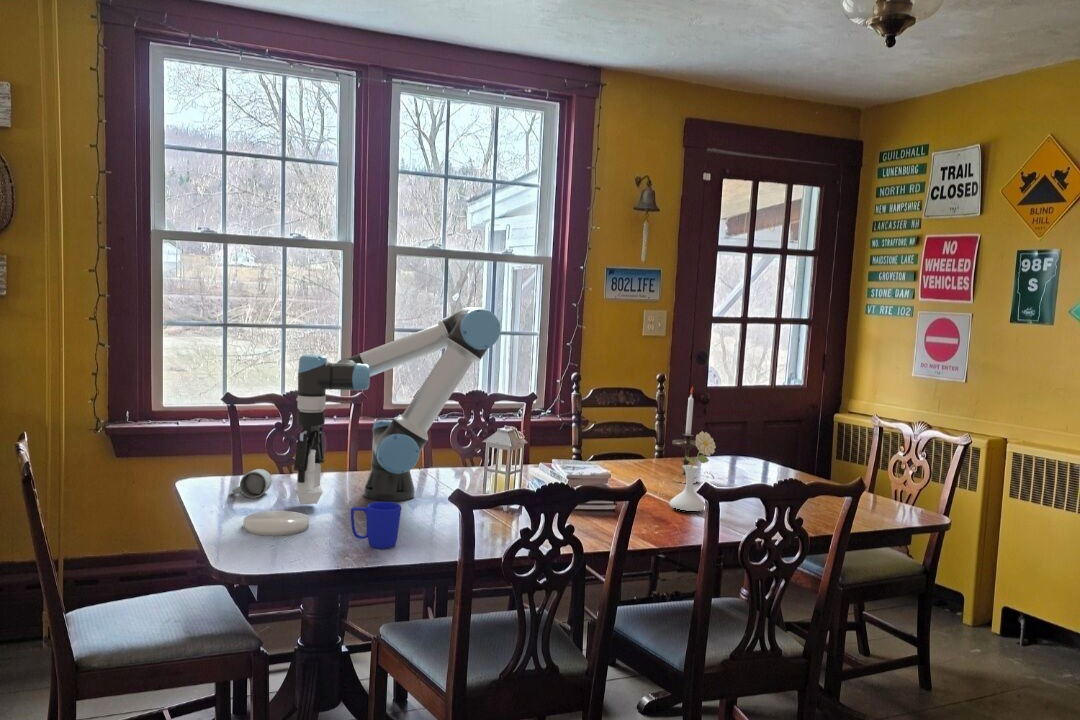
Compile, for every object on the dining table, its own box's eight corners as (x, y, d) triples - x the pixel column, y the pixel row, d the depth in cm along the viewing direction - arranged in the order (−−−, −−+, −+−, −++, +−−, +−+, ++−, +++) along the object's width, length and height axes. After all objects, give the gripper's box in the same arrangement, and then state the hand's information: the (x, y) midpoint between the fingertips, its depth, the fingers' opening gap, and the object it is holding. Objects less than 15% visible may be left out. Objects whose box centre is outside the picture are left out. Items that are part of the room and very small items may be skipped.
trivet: (317, 521, 221) (318, 513, 220) (294, 538, 205) (295, 530, 205) (259, 516, 222) (259, 508, 222) (232, 532, 206) (232, 524, 206)
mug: (351, 539, 207) (353, 500, 206) (400, 541, 208) (402, 502, 207) (346, 549, 198) (348, 508, 198) (397, 551, 199) (400, 510, 199)
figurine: (320, 497, 240) (321, 446, 239) (322, 505, 231) (324, 452, 230) (294, 498, 237) (295, 446, 236) (295, 506, 229) (297, 452, 227)
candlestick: (702, 485, 298) (710, 388, 295) (672, 483, 298) (679, 386, 295) (696, 478, 309) (703, 385, 306) (667, 477, 309) (674, 383, 306)
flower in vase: (676, 515, 253) (683, 433, 251) (663, 505, 264) (669, 427, 262) (716, 515, 256) (723, 435, 254) (702, 506, 267) (708, 428, 265)
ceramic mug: (272, 492, 248) (273, 466, 248) (266, 498, 240) (266, 472, 240) (236, 491, 247) (236, 465, 247) (228, 497, 239) (228, 471, 239)
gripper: (312, 404, 243) (309, 480, 245) (282, 414, 222) (280, 497, 223) (337, 406, 243) (334, 482, 244) (309, 416, 221) (307, 499, 223)
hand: (308, 489), depth 234 cm, fingers closed on figurine, 9 cm apart
